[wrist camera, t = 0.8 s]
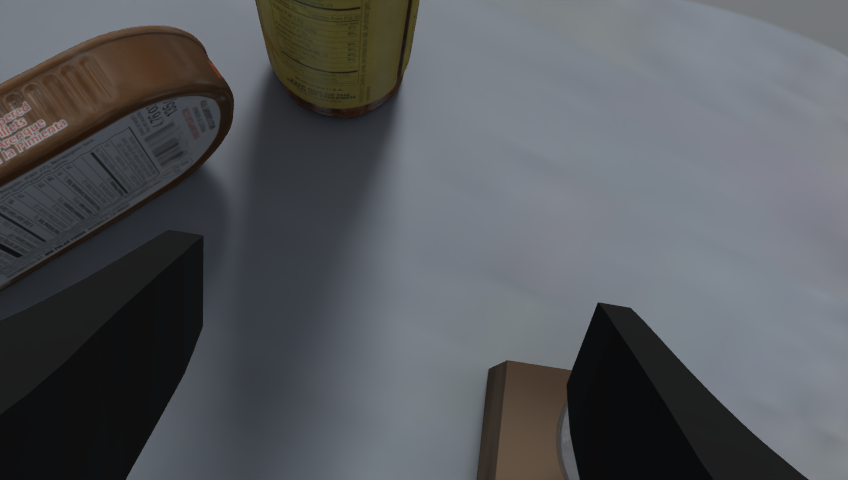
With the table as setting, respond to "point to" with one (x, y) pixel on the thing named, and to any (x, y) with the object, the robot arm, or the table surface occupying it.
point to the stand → (522, 422)
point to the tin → (102, 137)
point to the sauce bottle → (339, 50)
